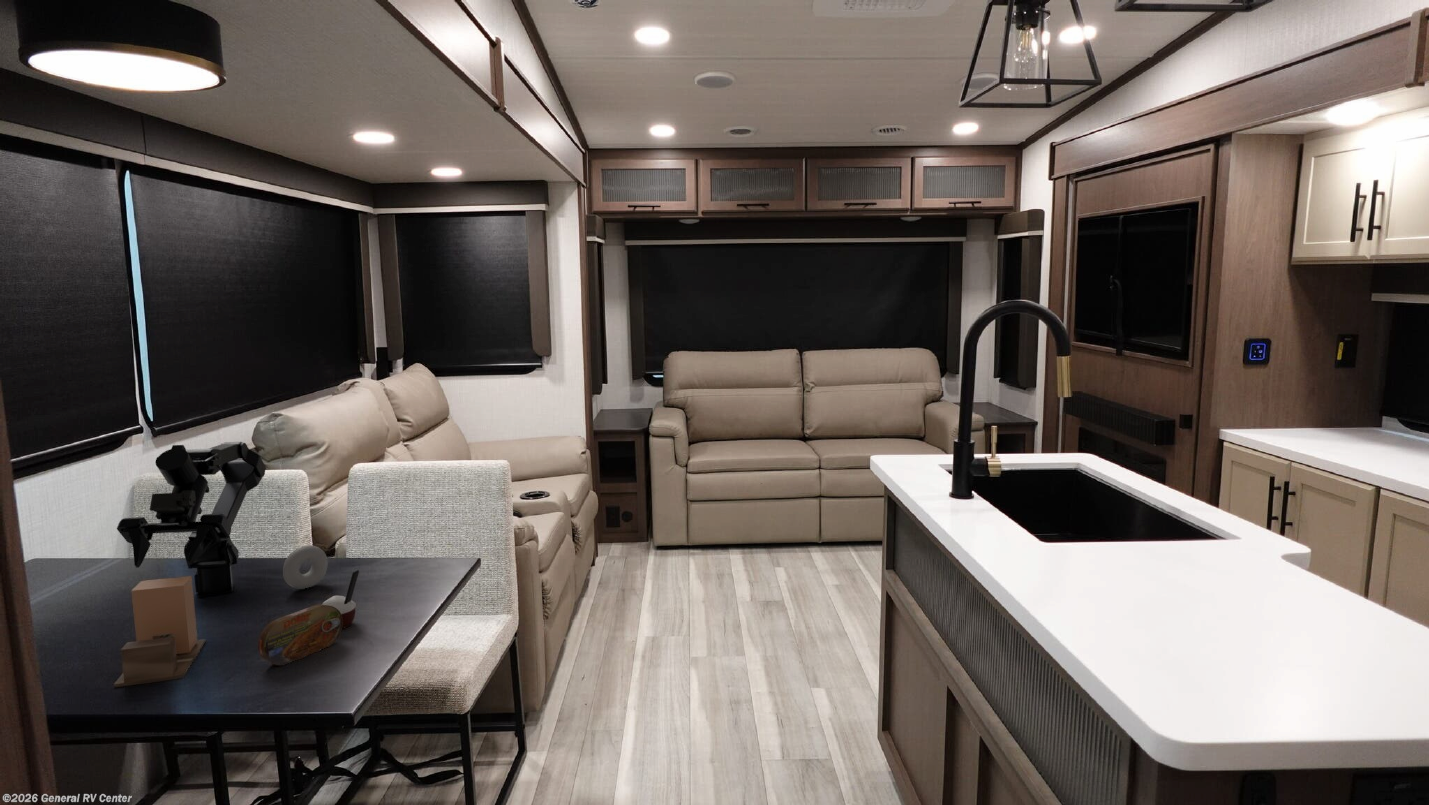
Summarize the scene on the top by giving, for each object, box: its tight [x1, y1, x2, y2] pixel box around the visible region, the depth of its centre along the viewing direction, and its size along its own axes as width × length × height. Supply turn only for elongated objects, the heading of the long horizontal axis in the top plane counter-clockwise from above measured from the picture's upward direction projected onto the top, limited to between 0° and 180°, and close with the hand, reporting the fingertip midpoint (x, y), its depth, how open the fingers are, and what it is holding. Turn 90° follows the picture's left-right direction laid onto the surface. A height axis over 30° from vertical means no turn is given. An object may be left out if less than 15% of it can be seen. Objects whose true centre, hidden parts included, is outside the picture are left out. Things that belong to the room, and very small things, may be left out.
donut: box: [282, 544, 329, 590], centre depth 176 cm, size 10×4×10 cm, turn 147°
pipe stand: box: [113, 637, 207, 688], centre depth 140 cm, size 15×10×7 cm, turn 20°
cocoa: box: [321, 569, 360, 629], centre depth 156 cm, size 10×6×12 cm, turn 54°
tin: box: [258, 604, 343, 666], centre depth 144 cm, size 15×3×8 cm, turn 148°
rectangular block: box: [130, 575, 199, 654], centre depth 143 cm, size 5×8×13 cm, turn 110°
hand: (163, 565), depth 151 cm, fingers open, 9 cm apart
